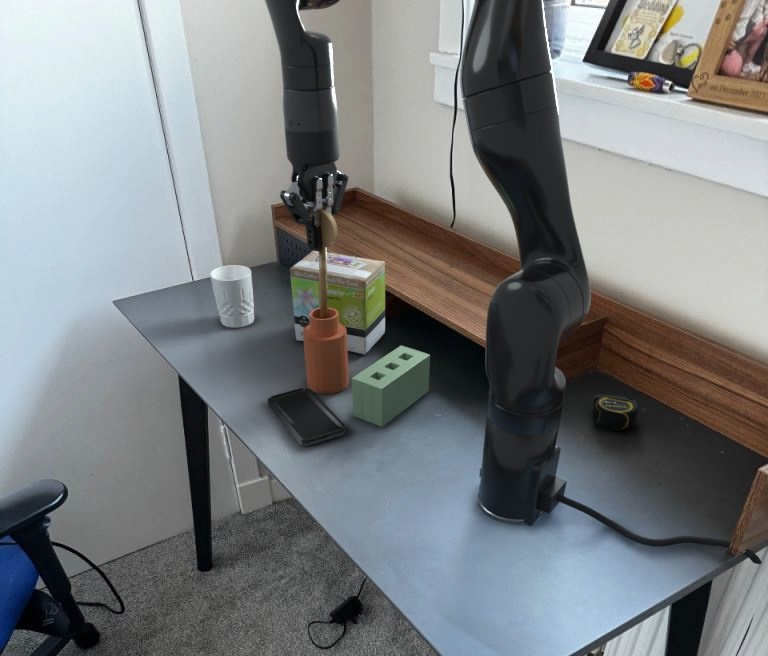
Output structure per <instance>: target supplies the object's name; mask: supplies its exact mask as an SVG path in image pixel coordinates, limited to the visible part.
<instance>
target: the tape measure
mask: <svg viewBox="0 0 768 656" xmlns="http://www.w3.org/2000/svg"><path fill="white" fill-rule="evenodd" d="M592 412H593V413H592V417H593V420H594V421H595V423H596V424H597V425H599V426H601V427H603V428H605V429H609V430H614V431H615V430H617V431H618V430H619V431H620V430H621V431H622V430H623V431H624V430H627V429H630V428H632V427H633V426H634V425H635V423H636V421H637V419H638V414H639V406H638V402H637V400H636V399H635V398H633V397H628V396H621V395H620V396H619V395H608V394H600V393H599V394H597V393H596V394H595V395H594V396H593V399H592Z"/></svg>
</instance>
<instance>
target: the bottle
mask: <svg viewBox="0 0 768 656" xmlns="http://www.w3.org/2000/svg"><path fill="white" fill-rule="evenodd" d="M327 312H328V319H320V308H317V309H314V310H312V311H310V313H309V323H310V325H308V326H306V327H305V328H304V329H303V339H304V341H303V351H304V360H305V362H304V363H305V371H306V372H305V373H306V374H305V375H306V383H307V388H310V389H311V390H312V391H313V392H314V393H317V394H322V395H332V394H337V393H341V392H342V391H344V390H346V389H347V388H348V386H349V383H350V381H349V379H350V378H349V355H348V354H349V353H348V352H349V351H347V330H346V328H345V326H344V325H342V324H340V323H339V314H338V311H337V310H335V309H333V308H327Z"/></svg>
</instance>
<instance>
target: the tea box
mask: <svg viewBox="0 0 768 656" xmlns="http://www.w3.org/2000/svg"><path fill="white" fill-rule="evenodd" d="M289 269H290V270H289V271H290V273H289V274H290V284H291V285H290V286H291V296H292V297H291V298H292V310H293V321H294V331H295V339H296V341H297V342H298V341H299V342H304V339H303V329H304V328H305V327H306V326H308V325H310V323H309V313H310V311H312V310H314V309H317V308H320V284H319V251H318V252H317V251H313V250H311V252H309V253H308V254H307V255H305V256H304V257H303V258H302V259H301V260H300V261H298V262H297V263H295V264H294V265H292V266H291V267H290V268H289ZM327 308H333V309H335V310H337V311H338V314H339V323H340V324H342V325H344V326H345V328H346V330H347V352H351V353H356V354H360V355H363V356H365V355H366V354H367V353H368V352H369V351H370V350H371V349H372V348H373V347H374V346H375V344H376V343H378V342H379V340H380V339H381V338H382V337H383V336H384V335H385V333H386V261H385V260H384V261H383V260H377V259H371V258H365V257H358V256H352V255H347V254H341V253H335V252H329V251H327Z"/></svg>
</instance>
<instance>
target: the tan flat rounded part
mask: <svg viewBox="0 0 768 656" xmlns="http://www.w3.org/2000/svg"><path fill="white" fill-rule="evenodd" d="M310 216H311V217H313V216H312V212H310ZM320 222H321V223H320V226H321V233H322V250H320V251H319V284H320V319H328V312H327V252H328V251H327V250H328V249H327V248H326V246H328V245H329V246H330V245H332V244H334V243H335V242H336V240H337V238H338V232H339V231H338V224H337V222H336V220H335V218H334V215H333V216H332V215H331V214H330V213H329V212H328V211H326V210H323V209H321V210H320Z"/></svg>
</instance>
